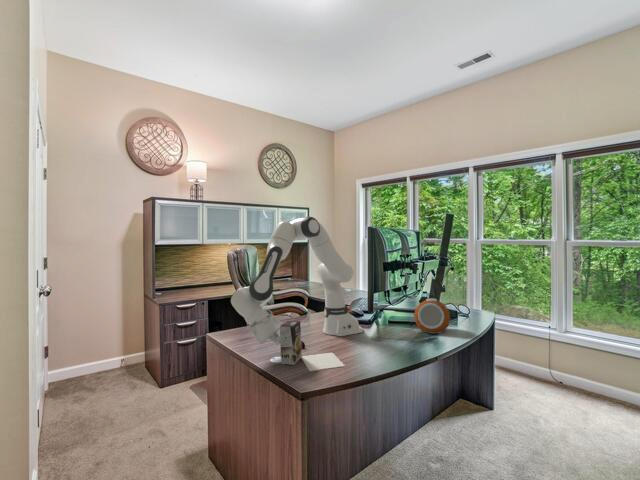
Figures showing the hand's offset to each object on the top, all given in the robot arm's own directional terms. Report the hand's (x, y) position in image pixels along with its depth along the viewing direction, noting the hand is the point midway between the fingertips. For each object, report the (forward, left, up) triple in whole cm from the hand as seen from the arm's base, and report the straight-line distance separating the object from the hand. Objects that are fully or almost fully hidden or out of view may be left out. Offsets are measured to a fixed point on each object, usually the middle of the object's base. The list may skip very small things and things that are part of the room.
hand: (279, 342), depth 143 cm
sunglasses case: (-9, -19, -8) cm, 22 cm away
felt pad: (-17, +8, -7) cm, 20 cm away
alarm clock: (-89, -16, -8) cm, 90 cm away
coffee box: (-5, +3, -7) cm, 9 cm away
